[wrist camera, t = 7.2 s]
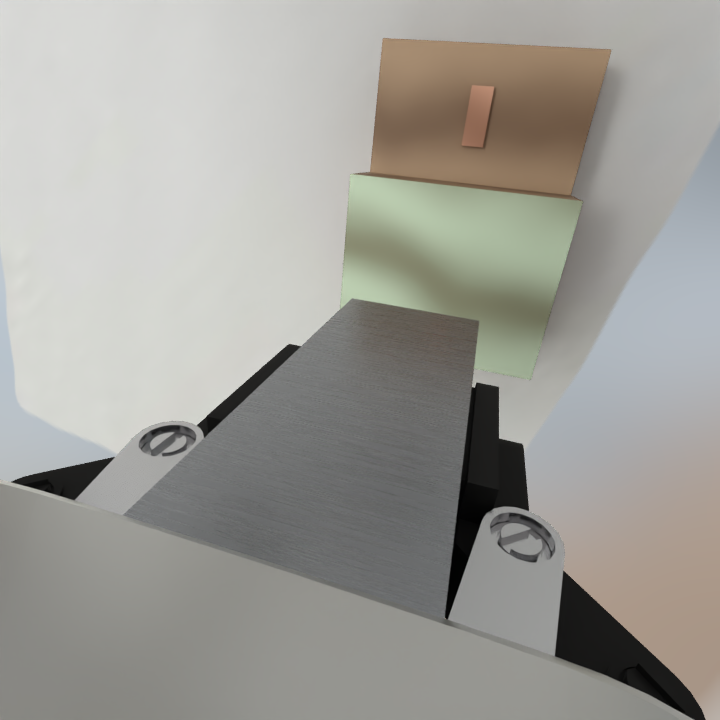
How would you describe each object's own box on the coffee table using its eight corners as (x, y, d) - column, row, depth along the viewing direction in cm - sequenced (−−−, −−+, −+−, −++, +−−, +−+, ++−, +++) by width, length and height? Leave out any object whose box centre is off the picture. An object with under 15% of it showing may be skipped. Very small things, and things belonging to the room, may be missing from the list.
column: (349, 294, 14) (-85, 687, 4) (483, 318, 13) (425, 928, 3) (340, 407, 16) (31, 887, 5) (457, 434, 15) (362, 1069, 5)
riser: (395, 51, 28) (362, 16, 21) (597, 62, 26) (634, 27, 19) (368, 306, 36) (337, 341, 29) (523, 334, 33) (530, 379, 26)
